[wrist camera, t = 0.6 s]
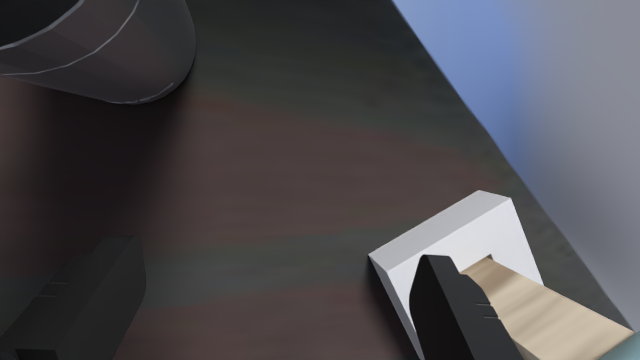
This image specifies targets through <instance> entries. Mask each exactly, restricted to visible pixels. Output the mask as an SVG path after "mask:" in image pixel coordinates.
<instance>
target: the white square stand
mask: <svg viewBox="0 0 640 360" xmlns="http://www.w3.org/2000/svg"><path fill="white" fill-rule="evenodd" d="M423 254H428V255H445V256H450V257H451V258H452V260H453V262H454V264H455V266H456V267H457V269H458V271H459V273H460V272H461V271H463V270H465V269H466V268H468V267H470V266H471V265H473V264H475V263H476V262H478V261H479V260H481V259H483V258H484V257H487V258H489V259H491V260H493V261H495V262H497V263H499V264H501V265H503V266H505V267H507V268H509V269H511V270H513V271H515V272H517V273H519V274H521V275H523V276H525V277H527V278H529V279H531V280H533V281H535V282H537V283H539V284H541V285H543V282H542V280H541V277H540V274H539V272H538V269H537V266H536V264H535V261H534V258H533V256H532V253H531V250H530V248H529V245H528V243H527V240H526V237H525V235H524V232H523V229H522V227H521V224H520V221H519V219H518V216H517V213H516V211H515V208H514V205H513V203H512V200H511V198H508V197H504V196H500V195H496V194H492V193H488V192H484V191H480V190H478V191H476V192H475V193H473V194H471V195H469V196H468V197H466V198H464V199H462V200H461V201H459V202H457V203H456V204H454V205H452V206H450V207H449V208H447V209H445V210H444V211H442V212H440V213H438V214H437V215H435V216H433V217H432V218H430V219H428V220H426V221H425V222H423V223H421V224H420V225H418V226H416V227H414V228H413V229H411V230H409V231H407V232H406V233H404V234H402V235H401V236H399V237H397V238H395V239H394V240H392V241H390V242H389V243H387V244H385V245H383V246H382V247H380V248H378V249H377V250H375V251H373V252H371V253H370V254H368V255H369V257H370V259H371V261H372V263H373V265H374V267H375V269H376V272H377V274H378V276H379V278H380V280H381V282H382V284H383V286H384V288H385V290H386V292H387V294H388V296H389V298H390V300H391V302H392V304H393V306H394V308H395V310H396V312H397V314H398V316H399V318H400V320H401V322H402V324H403V326H404V328H405V330H406V332H407V334H408V336H409V338H410V340H411V342H412V344H413V346H414V349H415V351H416V353H417V355H418V357H419V359H420V360H425V358H424V355H423V352H422V349H421V346H420V343H419V340H418V337H417V333H416V330H415V327H414V324H413V321H412V318H411V315H410V310H409V294H410V290H411V287H412V283H413V280H414V276H415V273H416V269H417V266H418V263H419V259H420V257H421V256H422V255H423ZM543 286H544V285H543Z"/></svg>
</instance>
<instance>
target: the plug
mask: <svg viewBox="0 0 640 360" xmlns="http://www.w3.org/2000/svg"><path fill="white" fill-rule="evenodd" d="M460 274H467V275H468V276H469V277H470V278H472V279H473V280H474V281H475V282H476V283H477V284H478V285H479V286H480V287H481V288H482V289H483V291H484V293H485V294H486V296H487V298H488V299H489V301H490V303H491V306H493V308H494V309H495V311H496V313H497V315H498V319H500V320H501V321H502V323H503V325H504V326H505V328H506V330H507V331H508V333H509V335H510V337H511V338H512V340H513V342H514V343H515V345H516V347H517V348H518V350H519V352H520V353H521V355H522V357H523V359H524V360H640V331H639V332H637V333H635V332H633V331H631V330H629V329H627V328H625V327H623V326H621V325H619V324H617V323H615V322H613V321H611V320H609V319H607V318H605V317H603V316H602V315H600V314H598V313H596V312H594V311H592V310H590V309H588V308H586V307H584V306H582V305H580V304H578V303H576V302H574V301H572V300H570V299H568V298H566V297H564V296H562V295H560V294H558V293H556V292H554V291H552V290H550V289H548V288H546V287H544V286H543V285H541V284H539V283H537V282H535V281H533V280H531V279H529V278H527V277H525V276H523V275H521V274H519V273H517V272H515V271H513V270H511V269H509V268H507V267H505V266H503V265H501V264H499V263H497V262H495V261H493V260H491V259H489V258H487V257H484V258H483V259H481V260H479V261H478V262H476V263H475V264H473V265H471V266H470V267H468V268H466V269H465V270H463V271H461V272H460Z"/></svg>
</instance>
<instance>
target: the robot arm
mask: <svg viewBox="0 0 640 360" xmlns="http://www.w3.org/2000/svg"><path fill="white" fill-rule="evenodd" d="M195 51H196V35H195V27H194V24H193V21H192V18H191V15H190V13H189V10H188V8H187V5H186V3H185V0H0V77H3V78H8V79H12V80H17V81H21V82H25V83H30V84H34V85H38V86H43V87H47V88H52V89H56V90H60V91H65V92H69V93H74V94H78V95H82V96H87V97H91V98H95V99H100V100H104V101H106V102H110V103H119V104H135V105H136V104H142V103H148V102H152V101H155V100H157V99H160V98H162V97H164V96H166V95H167V94H169V93H170V92H172V91H173V90H175V89H176V88H177V87H178V86H179V85H180V84H181V82H182V81H183V80H184V79H185V77H186V76H187V74H188V72H189V71H190V69H191V67H192V63H193V60H194V57H195ZM145 288H146V275H145V269H144V262H143V256H142V249H141V243H140V239H139V238H138V237H137V236H122V235H106V236H105V237H104V238H103V239H102V240H101V242H100V243H99V244H98V245H97V247H96V248H95V249H94V250H93V252H92V253H85V252H83V253H82V254H80V255H78V256H77V257H75V258H74V259H72V260H71V261H69V262H68V263H66V264H65V265H63V266H62V268H61V269H60V270H59V271H58V272H57V273H56V274H55V276H54V277H53V278H52V279H51V280H50V284H47V285H46V286H45V287H44V288H43V289H42V291H41V292H40V293H39V296H38V297H36V298H35V299H34V300H33V301H32V302H31V303H30V304H29V306H28V307H27V308H26V309H25V310H24V311H23V313H22V314H21V315H20V316H19V317H18V318H17V319H16V321H15V322H14V323H13V324H12V325H11V326H10V328H9V329H8V330H7V331H6V332H5V333H4V334H3V336H2V337H1V338H0V360H112V358H113V356H114V354H115V352H116V350H117V348H118V346H119V344H120V342H121V340H122V339H123V337H124V335H125V333H126V331H127V329H128V327H129V325H130V323H131V321H132V319H133V317H134V315H135V313H136V311H137V310H138V308H139V306H140V304H141V302H142V299H143V297H144V293H145ZM409 310H410V315H411V318H412V321H413V324H414V327H415V330H416V333H417V337H418V340H419V343H420V346H421V349H422V352H423V355H424V358H425V360H524V359H523V357H522V355H521V353H520V352H519V350H518V348H517V347H516V345H515V343H514V342H513V340H512V338H511V337H510V335H509V333H508V331H507V330H506V328H505V326H504V325H503V323H502V321H501V320H500V319H498V315H497V313H496V311H495V309H494V308H493V306H491V303H490V301H489V299H488V298H487V296H486V294H485V293H484V291H483V289H482V288H481V287H480V286H479V285H478V284H477V283H476V282H475V281H474V280H473V279H472V278H470V277H469V276H468V275H467V274H460V273H459V271H458V269H457V267H456V266H455V264H454V262H453V260H452V258H451V257H450V256H445V255H428V254H423V255H422V256H421V257H420V259H419V263H418V266H417V269H416V273H415V276H414V280H413V283H412V287H411V290H410V294H409Z"/></svg>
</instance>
